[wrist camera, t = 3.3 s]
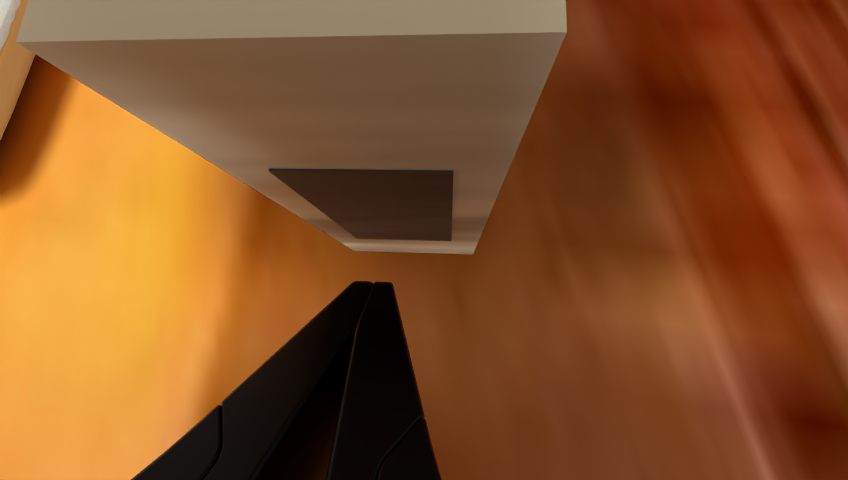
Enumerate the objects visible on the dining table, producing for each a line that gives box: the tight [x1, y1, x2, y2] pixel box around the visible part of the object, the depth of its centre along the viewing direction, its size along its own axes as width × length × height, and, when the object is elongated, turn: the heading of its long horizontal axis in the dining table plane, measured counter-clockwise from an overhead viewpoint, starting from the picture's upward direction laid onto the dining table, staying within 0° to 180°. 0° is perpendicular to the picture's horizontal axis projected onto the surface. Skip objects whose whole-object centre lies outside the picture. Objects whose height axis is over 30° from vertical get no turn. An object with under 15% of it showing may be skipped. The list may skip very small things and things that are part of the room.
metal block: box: [16, 0, 567, 254], centre depth 9 cm, size 5×5×12 cm
